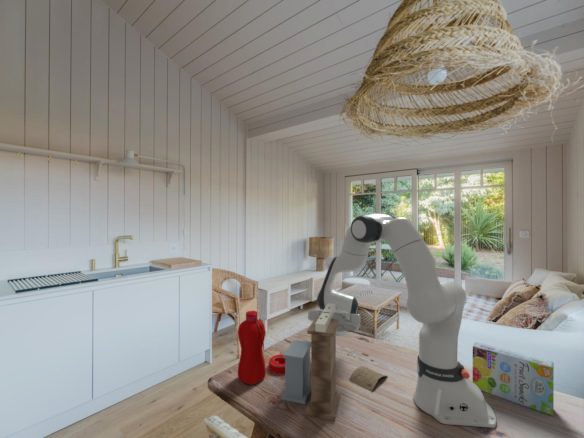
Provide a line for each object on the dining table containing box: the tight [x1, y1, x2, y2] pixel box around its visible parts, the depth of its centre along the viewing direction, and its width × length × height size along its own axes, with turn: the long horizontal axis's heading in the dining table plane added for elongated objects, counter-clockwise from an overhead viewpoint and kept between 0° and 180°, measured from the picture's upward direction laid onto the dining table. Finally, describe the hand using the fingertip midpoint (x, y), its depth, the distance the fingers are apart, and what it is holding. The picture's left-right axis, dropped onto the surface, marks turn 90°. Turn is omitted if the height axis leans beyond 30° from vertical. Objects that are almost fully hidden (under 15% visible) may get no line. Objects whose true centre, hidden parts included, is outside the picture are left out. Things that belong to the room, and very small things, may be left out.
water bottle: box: [237, 310, 267, 386], centre depth 105 cm, size 9×11×25 cm
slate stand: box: [281, 339, 311, 405], centre depth 98 cm, size 8×12×15 cm, turn 163°
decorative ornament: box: [268, 354, 285, 375], centre depth 114 cm, size 10×10×3 cm
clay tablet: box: [348, 365, 388, 393], centre depth 105 cm, size 14×10×3 cm
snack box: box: [472, 341, 555, 417], centre depth 94 cm, size 21×6×15 cm, turn 46°
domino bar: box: [315, 303, 336, 333], centre depth 95 cm, size 3×21×2 cm, turn 163°
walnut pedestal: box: [305, 317, 342, 422], centre depth 90 cm, size 9×12×26 cm
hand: (331, 313), depth 103 cm, fingers open, 8 cm apart
